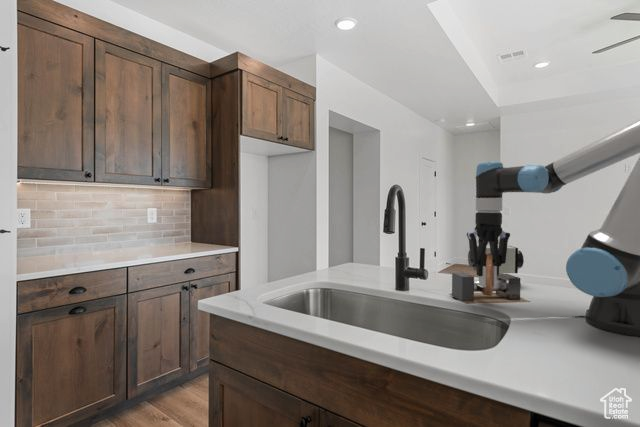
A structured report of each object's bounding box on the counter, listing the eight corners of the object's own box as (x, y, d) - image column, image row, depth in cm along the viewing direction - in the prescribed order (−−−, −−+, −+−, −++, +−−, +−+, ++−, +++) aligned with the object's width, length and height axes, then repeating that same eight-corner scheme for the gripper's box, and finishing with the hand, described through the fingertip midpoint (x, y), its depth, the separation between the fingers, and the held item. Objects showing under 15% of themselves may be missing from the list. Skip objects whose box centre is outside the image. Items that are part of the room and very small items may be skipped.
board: (530, 304, 112) (531, 301, 112) (465, 306, 110) (465, 303, 110) (507, 294, 124) (507, 292, 124) (448, 295, 122) (448, 293, 122)
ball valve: (513, 285, 137) (513, 240, 137) (523, 291, 129) (524, 243, 128) (466, 284, 139) (466, 240, 138) (473, 289, 131) (474, 242, 130)
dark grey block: (473, 301, 113) (474, 276, 112) (462, 301, 112) (462, 276, 112) (463, 295, 120) (463, 272, 119) (451, 295, 119) (452, 272, 119)
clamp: (520, 299, 114) (520, 278, 114) (508, 300, 114) (508, 278, 114) (506, 294, 121) (507, 273, 121) (495, 294, 121) (496, 274, 121)
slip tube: (514, 289, 120) (514, 249, 119) (535, 297, 109) (535, 253, 109) (458, 290, 118) (459, 250, 117) (474, 298, 108) (475, 254, 107)
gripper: (505, 211, 113) (503, 282, 114) (458, 211, 112) (457, 283, 112) (520, 212, 106) (519, 288, 106) (470, 212, 104) (469, 289, 105)
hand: (487, 285), depth 109 cm, fingers closed on slip tube, 3 cm apart
